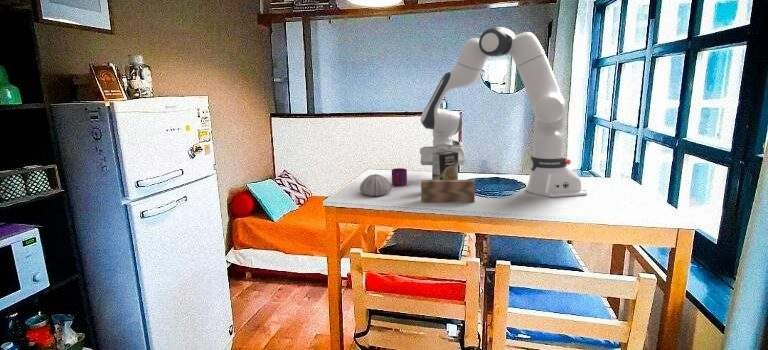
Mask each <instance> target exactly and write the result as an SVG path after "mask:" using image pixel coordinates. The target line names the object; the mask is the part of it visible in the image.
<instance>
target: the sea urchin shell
mask: <svg viewBox="0 0 768 350" xmlns="http://www.w3.org/2000/svg"><path fill="white" fill-rule="evenodd" d="M391 190H392V183H391V182H390V180H389V179H388V178H386V177H385V176H383V175H381V174H375V173H374V174H370V175H368V176H366V178H364V179H363V180H362V182H361V183H360V185H359V191H360V194H362V195H365V196H370V197H380V196H384V195H387V194H389V193H390V192H391Z"/></svg>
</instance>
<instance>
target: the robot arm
mask: <svg viewBox="0 0 768 350" xmlns="http://www.w3.org/2000/svg"><path fill="white" fill-rule="evenodd" d="M545 53H546V52H545V50H544V49H543V47H542V45H541V43H540V41H539V40H538V38H537V36H536V35H535V34H534V33H533V32H530V31H524V32H522V33H521V32H520V33H519V34H517V33H516V32H515V31H514V29H512V28H509V27H504V26H494V27H490V28H487V29H485V30H484V31H483V32H482V33H481V35H480V37H471V38H469V39H467V41H465V43H464V45H463V47H462V48H461V51H460V53H459V56H458V58H457V60H456V63H455V65H454V67H453V68H452V69H451V70H450V71H448V72H446V73H445V74H444V75H442V77H441V79H440V81H439V83H438V84H437V86H436V87H435V90H434V92H433V94H432V96H431V97H430V99H429V101H428V103H427V104H426V107H425V108H424V109H423V111H422V113H421V116H420V122H421V124H422V126H423V127H424V128H425V129H426V130H432V137H433V139H432V146H423V147H420V148H419V154H420V165H422V166H432V153H436V152H444V151H453V152H458V166H465V164H466V163H467V156H466V151H465V149H464V147H463V142H462V141H458V140H455V139H452V137H453V136H455V135H456V134H457V133H458V132H460V131H461V130H462V127H463V118H462V115H461V113H460V112H458V111H454V110H450V109H446V108H440V105H441V103H442V101H443V100H444V98H445V96H446V94H447V93H448V92H449V91H451V90H454V89H460V88H465V87H466V88H467V87H469V86H471V85H473V84H475V83H477V81H478V80H479V78H480V76H481V74H482V71H483V69H484V66H485V64H486V61H487V60H488V58H489V57H498V58H499V57H503V56H507V55H509V56H510V57H511V58H512V59H513V62H514V65H515V67H516V69H517V71H518V74H519V76H520V78H521V82H522V84H523V86H524V89H525V91H526V96H527V97H528V100H529V103H530V105H531V106H530V107H532V108H531V109H532V111H533V113H534V126H533V138H532V155H530V160H529V161H530V163H529V164H530V165H529V167H530V168H529V169H530V174H529V179H528V182H527V186H526V188H525V190H526V191H527V192H529V193H531V194H535V195H538V196H539V195H541V196H546V197H549V198H558V197H559V198H560V197H575V196H578V197H579V196H587V194H588V190H587V189H586V188H585V187H583V186H582V181H581V178H580V176H579V175H578V174H577V173H576V172H574V171H573V170H572V169H571V168H569V167H568V166H570V164H571V159H569V158H565V157H564V156H563V148H564V134H565V121H566V108H567V104H566V100H565V99H564V97H563V95H562V92H561V90H560V87H559V84H558V83H557V80H556V77H555V74H554V73H553V70H552V67H551V65H550V63H549V60H548V57H547V56H546V54H545ZM567 165H568V166H567Z"/></svg>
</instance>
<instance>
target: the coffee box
mask: <svg viewBox="0 0 768 350" xmlns="http://www.w3.org/2000/svg"><path fill="white" fill-rule="evenodd" d="M431 166H432V167H431V168H432V169H431V173H432V174H431V180H459V178H458V177H459V165H458V152H453V151H444V152H436V153H432V165H431Z"/></svg>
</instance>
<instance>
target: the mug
mask: <svg viewBox="0 0 768 350" xmlns="http://www.w3.org/2000/svg"><path fill="white" fill-rule="evenodd" d="M391 186H392V187H405V186H408V169H407V168H401V167H399V168H397V167H395V168H392V169H391Z"/></svg>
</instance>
